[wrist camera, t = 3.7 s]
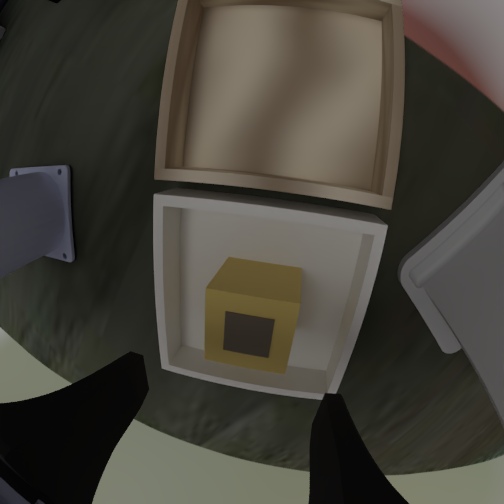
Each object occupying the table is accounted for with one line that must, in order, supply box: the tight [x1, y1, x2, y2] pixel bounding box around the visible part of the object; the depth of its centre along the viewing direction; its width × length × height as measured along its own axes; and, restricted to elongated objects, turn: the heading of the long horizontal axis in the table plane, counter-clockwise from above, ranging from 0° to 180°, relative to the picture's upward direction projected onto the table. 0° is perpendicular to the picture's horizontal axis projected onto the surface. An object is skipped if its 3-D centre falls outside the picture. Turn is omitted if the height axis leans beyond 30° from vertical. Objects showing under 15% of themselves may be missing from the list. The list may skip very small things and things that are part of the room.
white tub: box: [153, 188, 388, 400], centre depth 17 cm, size 12×12×3 cm
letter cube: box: [204, 257, 302, 374], centre depth 16 cm, size 4×4×5 cm
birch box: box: [154, 0, 405, 210], centre depth 13 cm, size 12×12×3 cm
